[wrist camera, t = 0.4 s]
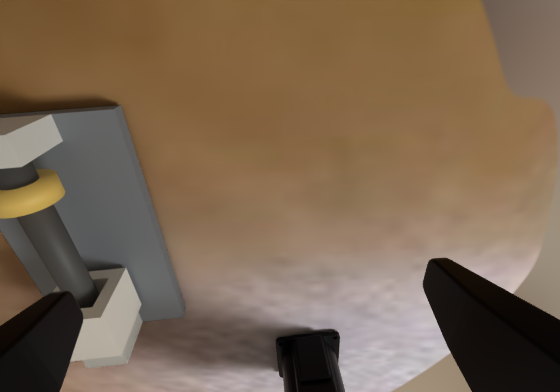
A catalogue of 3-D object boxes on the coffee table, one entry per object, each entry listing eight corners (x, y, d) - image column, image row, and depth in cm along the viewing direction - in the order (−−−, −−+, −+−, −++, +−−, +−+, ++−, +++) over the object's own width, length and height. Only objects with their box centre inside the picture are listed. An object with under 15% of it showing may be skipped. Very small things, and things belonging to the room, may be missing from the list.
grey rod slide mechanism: (185, 307, 27) (172, 364, 22) (71, 320, 27) (35, 380, 22) (120, 105, 18) (77, 132, 13) (-54, 118, 18) (-159, 151, 13)
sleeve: (141, 304, 24) (121, 355, 21) (86, 310, 24) (55, 363, 20) (126, 267, 22) (100, 317, 19) (65, 273, 22) (27, 325, 18)
